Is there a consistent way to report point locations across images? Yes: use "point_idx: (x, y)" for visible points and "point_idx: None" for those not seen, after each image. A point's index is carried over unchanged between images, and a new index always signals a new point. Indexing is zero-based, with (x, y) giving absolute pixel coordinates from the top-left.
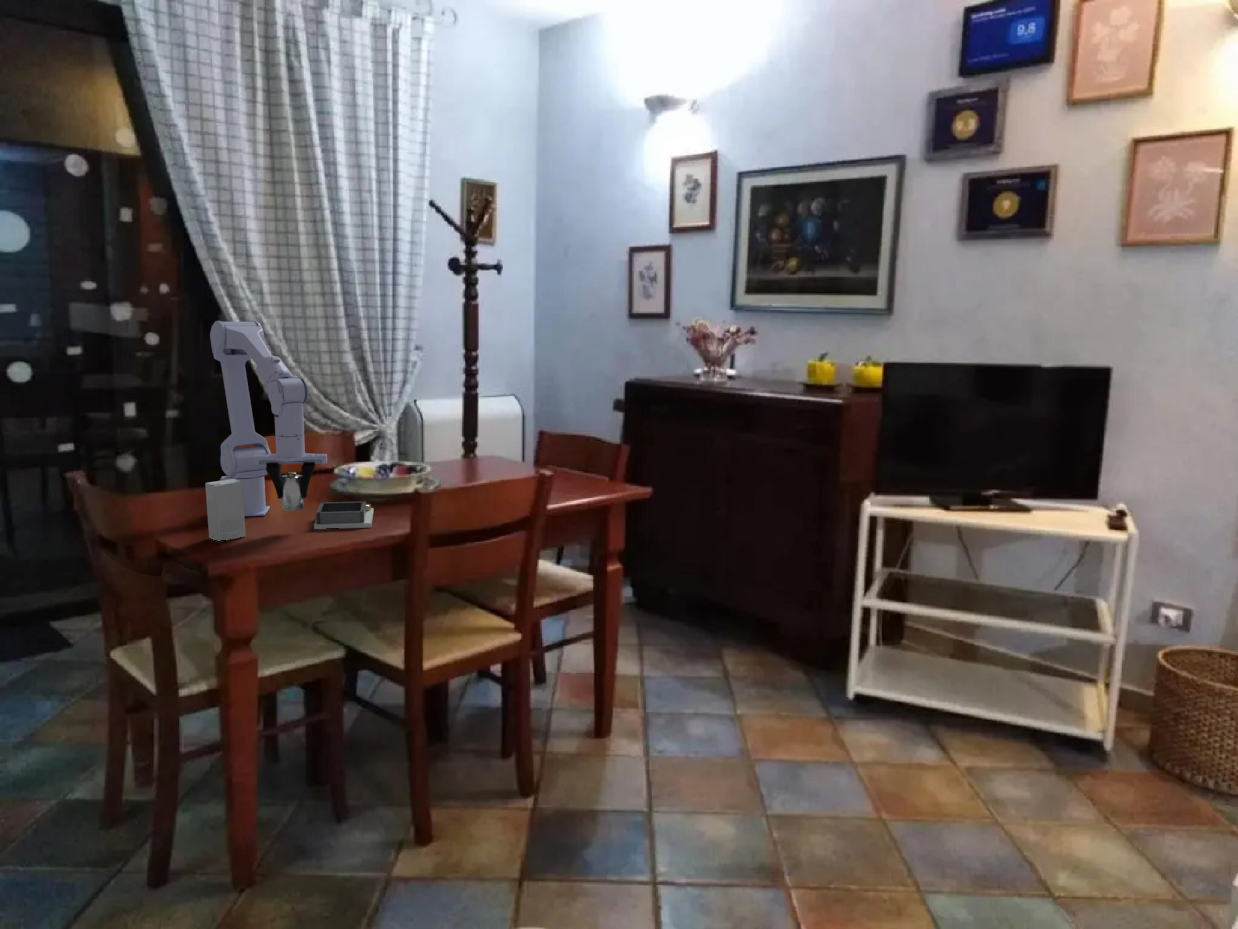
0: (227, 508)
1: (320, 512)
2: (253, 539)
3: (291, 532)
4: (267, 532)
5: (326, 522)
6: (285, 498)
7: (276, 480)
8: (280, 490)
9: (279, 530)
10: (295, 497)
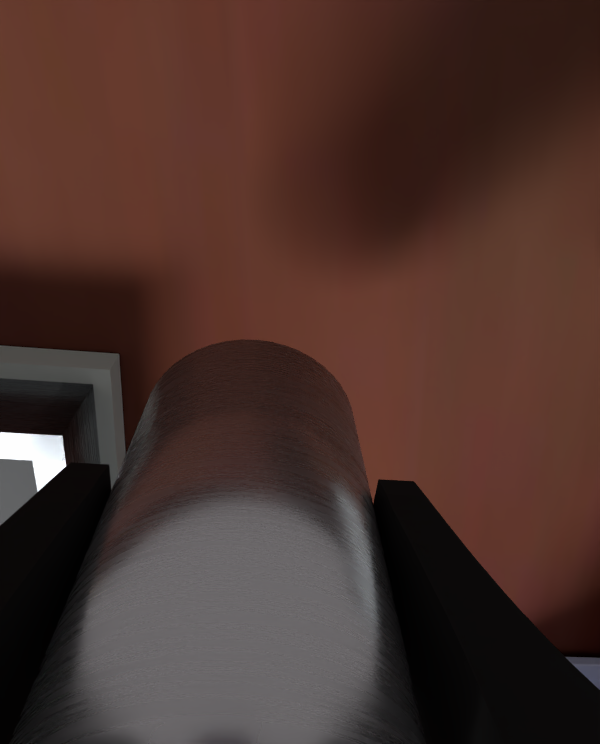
0: None
1: (28, 449)
2: (558, 159)
3: (274, 306)
4: (438, 341)
5: (11, 384)
6: (326, 441)
7: (534, 704)
8: (404, 561)
9: (357, 375)
10: (190, 428)
